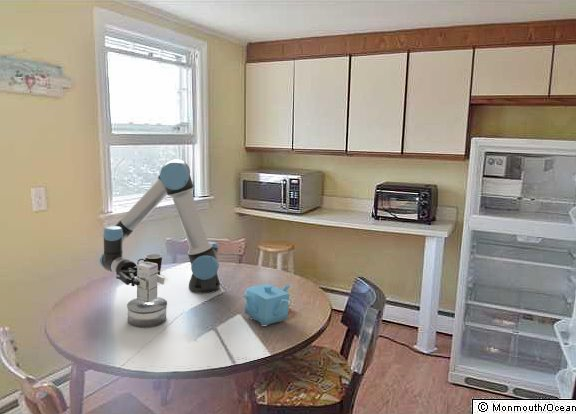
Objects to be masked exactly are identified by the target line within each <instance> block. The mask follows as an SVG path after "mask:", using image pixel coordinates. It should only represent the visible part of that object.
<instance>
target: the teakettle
mask: <svg viewBox="0 0 576 414" xmlns="http://www.w3.org/2000/svg"><path fill="white" fill-rule="evenodd" d="M291 286H292V285H291V284H286V285H285V286H284V287H282V289H280V288H279V287H276V286H274V284H273V285H272V284H271V283H266V284H260V285H252V286H250V287H247V288H245V294H242V296H241V297H242V298H245V300H244V301H245V303H244V313H245V314H246V316H247V315H248V316H249V317H250V318H252V319H255V320H254V321H256V322H259V323H260V325H261V324H262V325H272V324H274V323H277V322H278V321H281V322H282V321H285V320H287V319H289V318H288V317H289V307H290V306H289V305H290V293H288V292H287V291H288V289H289V288H290V287H291Z"/></svg>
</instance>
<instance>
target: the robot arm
mask: <svg viewBox="0 0 576 414" xmlns="http://www.w3.org/2000/svg"><path fill="white" fill-rule="evenodd" d="M194 189H195V187H194V183H193V180H192V176H191V170H190V166H189V165H188V163H186V162H185V161H184V160H181V159H171V160H169V161H168V162H166V163H164V165H163V166H162V167H161V169H160V173H159V175H158V176H157V181H155V183H153V185H152V186H150V188H149V189H148V190H147V191H146V192H145V193H144V194H143V196H142V197H140V199H138V201H137V202H136V203H135V204H134V205H133V206H132V207H131V208H130V209H129V211H127V213H126V214H124V215H123V217H122V218H121V219H120V220H119V221H118V222H117V223H116V224H115V225H111V226H106V227H104V230H103V234H102V235H103V236H102V237H103V254H101V256H100V258H99V265H100V266H101V267H103V268H104V269H105V270H106V271H109V272H111V273H112V274H114V275H116V276H115V278H116V279H117V280H120V281H121V282H122V283H124V285H127V286H130V284H131V287H135V286H137V285H138V286H139V287H141V288H143V289H146V281H144V280H142V279H140V278H138V277H137V264H136V263H135V262H134V261H131V260H130V259H127V258H125V257H123V244H124V242H125V241H126V240H127V239H128V238H129V236H130V235H131V234H132V233H133V232H134V230H136V229H137V227H138V226H139V225H140V224H141V223H142V222H143V221H144V220H145V219H146V218H147V217H148V216H149V215H150V214H151V213H152V212H153V211H154V210H155V208H156V207H157V206H158V205H159V204H160V203H161V202H163V200H164V199H165V198H166V197H167V196H168V197H170V198H172V201H173V203H174V207H175V210H176V213H177V215H178V218H179V222H180V224H181V227H182V230H183V232H184V237H185V239H186V242H187V245H188V247H189V249H188V251H187V256H188V260H189V262H190V264H191V265H190V266H191V268H190V269H191V272H192V273H191V274H192V275H191V277H190V280H189V282H188V289H189V290H190V291H191V292H193V293H199V294H211V293H215V292H217V291H219V290H220V289H221V282H220V278H219V276H218V275H219V274H218V271H219V268H220V267H219V266H220V265H219V257H218V256H219V255H218V254H219V244H218V243H217V242H216V241H215V242H214V241H209V240H208V237H207V235H206V232H205V228H204V225H203V222H202V219H201V216H200V214H199V210H198V207H197V204H196V201H195V198H194V195H193V190H194ZM157 284H160V285H165V277H164V276H162V275H161V270H160V271H158V279H157Z"/></svg>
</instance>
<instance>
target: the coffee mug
mask: <svg viewBox="0 0 576 414" xmlns="http://www.w3.org/2000/svg"><path fill="white" fill-rule="evenodd" d="M140 261H144V262H151V263H156V264H158V271H160V272H161V270H162V269H161V268H162V261H163V255H162V254H160V253H159V254H158V253H149V254H146V255H145V256H144V258H140V259H138V260H137V262H136V263H137V264H136V265H139V264H140V263H139V262H140Z"/></svg>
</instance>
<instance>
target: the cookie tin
mask: <svg viewBox="0 0 576 414" xmlns="http://www.w3.org/2000/svg"><path fill="white" fill-rule="evenodd" d="M167 306H168V301H167V300H166V299H165V298H163V297H161V296H157V298H156V299H154V300H153V301H151V302H145V301H141V300H137V297H136V298H132V299H131V300H130V301H128V303H127V304H126V308H127V323H128V325H129V326H131V327H132V328H138V329H149V328H150V329H151V328H155V327H159V326H160V325H162V324H164V323H165V322H166V321H167V309H168V308H167Z"/></svg>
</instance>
